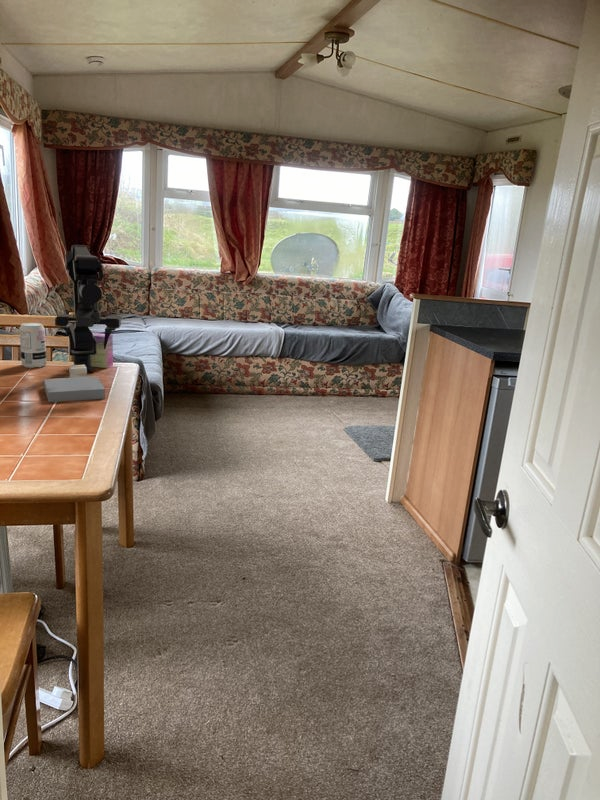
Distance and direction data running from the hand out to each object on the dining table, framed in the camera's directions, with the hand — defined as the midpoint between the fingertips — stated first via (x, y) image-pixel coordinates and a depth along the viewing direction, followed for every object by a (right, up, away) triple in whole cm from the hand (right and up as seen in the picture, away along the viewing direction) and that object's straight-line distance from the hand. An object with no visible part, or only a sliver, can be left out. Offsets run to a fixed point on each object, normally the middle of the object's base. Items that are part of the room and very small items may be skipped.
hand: (89, 348), depth 189 cm
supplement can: (-30, -4, +29) cm, 42 cm away
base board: (-4, -14, -1) cm, 15 cm away
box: (-9, -4, +35) cm, 36 cm away
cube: (-8, -10, +13) cm, 18 cm away
